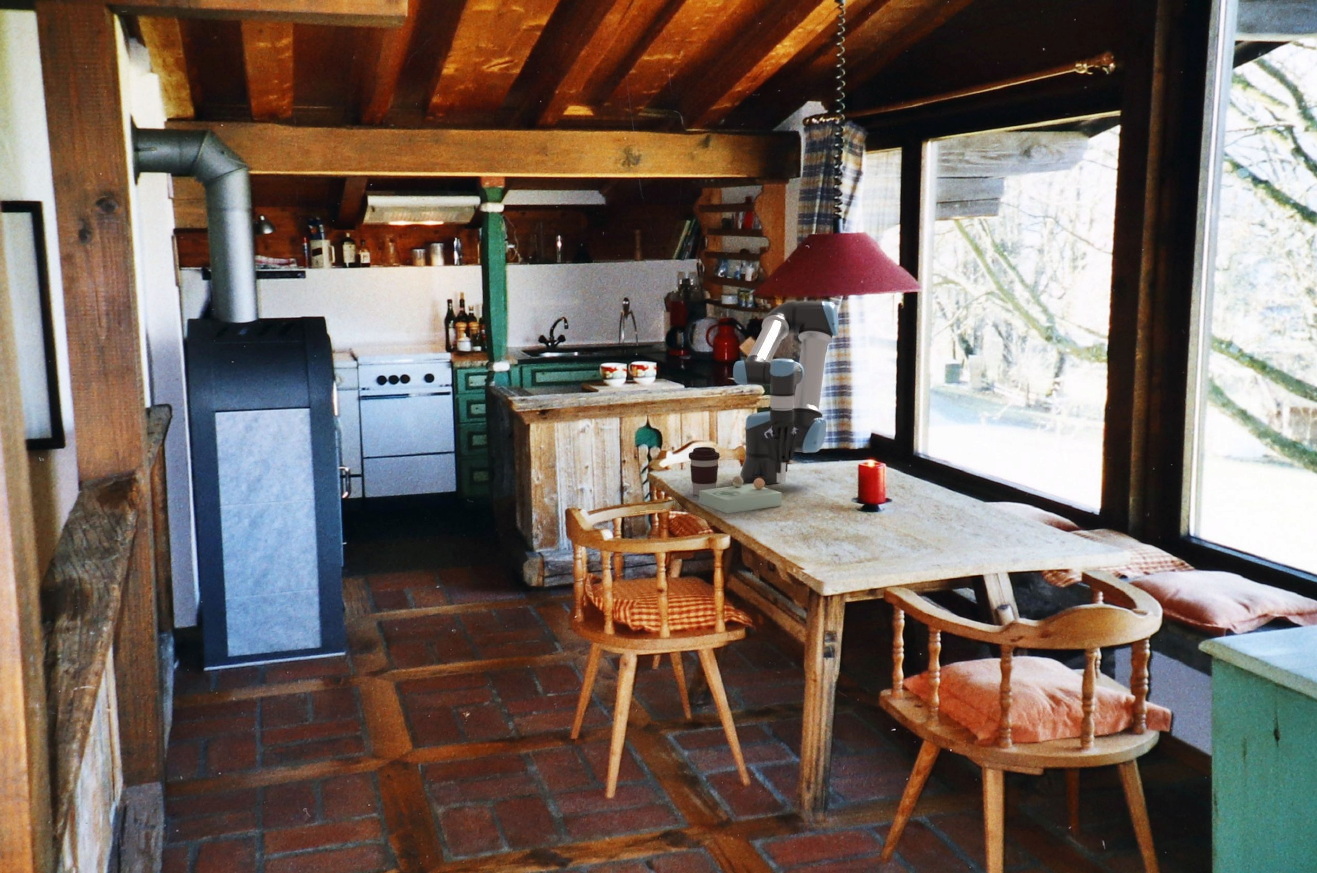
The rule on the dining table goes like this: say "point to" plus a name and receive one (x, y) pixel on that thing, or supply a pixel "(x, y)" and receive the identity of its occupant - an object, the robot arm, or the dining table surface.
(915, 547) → the dining table surface
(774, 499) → the board
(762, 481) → the terracotta ball
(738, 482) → the beech ball
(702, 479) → the coffee cup
